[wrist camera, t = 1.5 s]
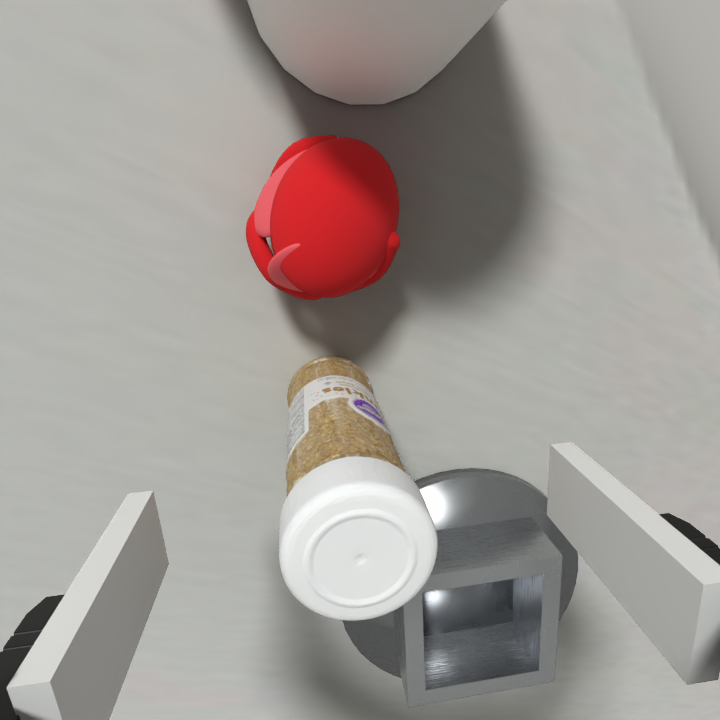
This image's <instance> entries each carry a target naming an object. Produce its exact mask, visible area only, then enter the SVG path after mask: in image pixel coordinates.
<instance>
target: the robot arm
mask: <svg viewBox="0 0 720 720" xmlns="http://www.w3.org/2000/svg"><path fill="white" fill-rule="evenodd" d="M547 515H548V517H549V518H550V519H551V520H552V522H553V523H554V524H555V525H556V526H557V528H558V529H559V530H560V531H561V532H562V534H563V535H564V536H565V537H566V539H567V540H568V541H569V542H570V543H571V545H572V546H573V547H574V548H575V549H576V551H577V552H578V553H579V554H580V556H581V557H582V558H583V559H584V560H585V562H586V563H587V564H588V565H589V566H590V568H591V569H592V570H593V571H594V573H595V574H596V575H597V576H598V577H599V579H600V580H601V581H602V582H603V583H604V585H605V586H606V587H607V588H608V590H609V591H610V592H611V593H612V594H613V596H614V597H615V598H616V599H617V600H618V602H619V603H620V604H621V605H622V607H623V608H624V609H625V610H626V611H627V613H628V614H629V615H630V616H631V617H632V619H633V620H634V621H635V622H636V624H637V625H638V626H639V627H640V628H641V630H642V631H643V632H644V633H645V634H646V636H647V637H648V638H649V639H650V641H651V642H652V643H653V644H654V645H655V647H656V648H657V649H658V650H659V651H660V653H661V654H662V655H663V656H664V658H665V659H666V660H667V661H668V662H669V664H670V665H671V666H672V667H673V668H674V670H675V671H676V672H677V673H678V675H679V676H680V677H681V678H682V679H683V681H684V682H685V683H686V684H687V685H689V684H695V683H701V682H707V681H713V680H718V678H719V673H720V549H719V548H718V546H717V545H716V544H715V543H714V542H712V541H711V540H710V539H709V538H706V537H705V535H704V534H702V533H701V532H700V531H698V530H697V529H696V528H695V527H693V526H692V525H691V524H690V523H688V522H686V521H684V520H682V519H680V518H677V517H675V516H673V515H671V514H669V513H667V514H658V513H656V512H655V511H654V510H653V509H652V508H650V507H649V506H648V505H647V504H646V503H644V502H643V501H642V500H641V499H640V498H638V497H637V496H636V495H635V494H634V493H632V492H631V491H630V490H629V489H628V488H626V487H625V486H624V485H623V484H622V483H620V482H619V481H618V480H617V479H616V478H614V477H613V476H612V475H611V474H610V473H608V472H607V471H606V470H605V469H604V468H602V467H601V466H600V465H599V464H598V463H596V462H595V461H594V460H593V459H592V458H590V457H589V456H588V455H587V454H586V453H584V452H583V451H582V450H581V449H580V448H578V447H577V446H576V445H575V444H574V443H572V442H568V443H560V444H551V445H550V462H549V482H548V501H547ZM168 564H169V562H168V558H167V553H166V548H165V544H164V539H163V534H162V529H161V525H160V520H159V515H158V511H157V506H156V501H155V497H154V492H153V491H147V492H138V493H129V494H128V495H127V496H126V498H125V499H124V501H123V503H122V504H121V506H120V507H119V509H118V511H117V512H116V514H115V515H114V517H113V519H112V520H111V522H110V523H109V525H108V527H107V528H106V530H105V531H104V533H103V535H102V536H101V538H100V539H99V541H98V543H97V544H96V546H95V547H94V549H93V550H92V552H91V554H90V555H89V557H88V558H87V560H86V562H85V563H84V565H83V566H82V568H81V570H80V571H79V573H78V574H77V576H76V578H75V579H74V581H73V582H72V584H71V586H70V587H69V589H68V590H67V592H66V594H65V595H58V596H51V597H46V598H45V599H44V600H42V601H41V602H40V603H39V604H38V605H37V606H36V607H34V608H33V609H32V610H31V611H30V612H29V613H27V614H26V616H25V617H24V619H23V620H22V622H21V623H20V625H19V626H18V627H17V629H16V630H15V632H14V636H11V638H10V639H9V640H8V642H7V643H6V645H5V646H4V648H3V652H0V720H109V718H110V716H111V713H112V711H113V708H114V705H115V703H116V700H117V697H118V695H119V692H120V690H121V687H122V684H123V682H124V679H125V677H126V674H127V671H128V669H129V666H130V664H131V661H132V658H133V656H134V653H135V651H136V648H137V645H138V643H139V640H140V637H141V635H142V632H143V630H144V627H145V624H146V622H147V619H148V617H149V614H150V611H151V609H152V606H153V604H154V601H155V598H156V596H157V593H158V590H159V588H160V585H161V583H162V580H163V577H164V575H165V572H166V570H167V567H168Z"/></svg>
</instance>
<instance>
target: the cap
mask: <svg viewBox="0 0 720 720" xmlns="http://www.w3.org/2000/svg"><path fill="white" fill-rule="evenodd" d="M398 217H399V196H398V189H397V185H396V181H395V178H394V175H393V173H392V171H391V169H390V167H389V165H388V163H387V162H386V160H385V159H384V158H383V157H382V155H381V154H380V153H379V152H378V151H377V150H375V149H374V148H373V147H371V146H370V145H368V144H366V143H364V142H362V141H359V140H356V139H352V138H338V137H336V136H314V137H307V138H303V139H301V140H299V141H297V142H295V143H293V144H292V145H291V146H289V147H288V148H287V149H286V151H285V152H284V153H283V154H282V155H281V157H280V158H279V160H278V161H277V163H276V165H275V167H274V169H273V171H272V173H271V176H270V178H269V180H268V181H267V183H266V184H265V186H264V188H263V190H262V192H261V194H260V196H259V198H258V201H257V203H256V207H255V210H254V211H253V212H252V214H251V215H250V217H249V219H248V221H247V225H246V238H247V243H248V247H249V250H250V252H251V255H252V257H253V259H254V262H255V263H256V265H257V267H258V269H259V270H260V272H261V273H262V275H263V276H264V277H265V278H266V280H267V281H268V282H269V283H271V284H272V285H273V286H275V287H276V288H278V289H280V290H282V291H284V292H286V293H288V294H290V295H292V296H295V297H298V298H301V299H306V300H317V299H321V298H331V297H337V296H342V295H344V294H347V293H350V292H353V291H356V290H358V289H361V288H364V287H366V286H369V285H371V284H373V283H375V282H376V281H378V280H379V279H380V278H381V277H382V276H383V275H384V274H385V273H386V271H387V270H388V268H389V267H390V265H391V263H392V261H393V259H394V257H395V254H396V252H397V250H398V248H399V246H400V237H399V235H398V234H397V233H396V229H397V224H398ZM266 237H271V243H272V248H273V252H274V255H275V256H274V255H273V253H272V252H271V250H270V247H269V245H268V243H267V240H266Z"/></svg>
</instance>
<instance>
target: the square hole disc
mask: <svg viewBox="0 0 720 720" xmlns="http://www.w3.org/2000/svg"><path fill="white" fill-rule="evenodd" d="M414 482H415V483H416V485H417V486H418V488H419V490H420V492H421V494H422V496H423V498H424V500H425V502H426V505H427V507H428V510H429V512H430V515H431V517H432V520H433V522H434V525H435V529H436V533H437V556H436V561H435V564H434V567H433V570H432V572H431V574H430V576H429V578H428V580H427V581H426V583H425V584H424V586H423V587H422V588H421V589H420V591H419V592H418V593H417V594H416V595H415V596H414V597H413V598H412V599H411V600H409V601H408V602H407V603H405V604H404V605H402V606H401V607H399V608H398V609H396V610H394V611H392V612H390V613H387V614H385V615H382V616H379V617H376V618H372V619H366V620H358V621H347V620H343V623H344V626H345V629H346V631H347V633H348V635H349V637H350V639H351V640H352V642H353V644H354V645H355V646H356V647H357V649H358V650H359V651H360V653H361V654H362V655H364V656H365V657H366V658H367V659H368V660H369V661H370V662H371V663H373V664H374V665H376V666H377V667H379V668H380V669H382V670H384V671H386V672H388V673H390V674H392V675H394V676H397V677H400V678H402V682H403V686H404V690H405V694H406V699H407V703H408V707H413V706H419V705H424V704H430V703H435V702H441V701H447V700H452V699H458V698H463V697H469V696H475V695H480V694H486V693H491V692H497V691H502V690H508V689H514V688H519V687H525V686H530V685H536V684H541V683H547V682H553V681H555V668H556V652H557V636H558V621H559V620H560V618H561V617H562V615H563V613H564V612H565V610H566V608H567V606H568V604H569V601H570V599H571V597H572V594H573V591H574V587H575V584H576V578H577V572H578V554H577V551H576V549H575V548H574V547H573V546H572V545H571V543H570V542H569V541H568V540H567V539H566V537H565V536H564V535H563V534H562V532H561V531H560V530H559V529H558V528H557V526H556V525H555V524H554V523H553V522H552V520H551V519H550V518H549V517H548V515H547V501H548V498H547V497H546V496H545V495H544V494H543V493H542V492H541V491H540V490H538V489H537V488H535V487H534V486H533V485H531V484H530V483H528V482H526V481H524V480H522V479H520V478H518V477H516V476H513V475H510V474H507V473H504V472H500V471H494V470H489V469H474V468H470V469H455V470H450V471H445V472H439V473H436V474H433V475H430V476H427V477H423V478H421V479H419V480H417V481H414Z"/></svg>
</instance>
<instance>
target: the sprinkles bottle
mask: <svg viewBox="0 0 720 720" xmlns="http://www.w3.org/2000/svg"><path fill="white" fill-rule="evenodd" d="M287 400H288V406H289V412H288V426H287V458H286V480H287V498H286V500H285V503H284V505H283V508H282V512H281V517H280V528H279V561H280V568H281V572H282V575H283V578H284V581H285V583H286V585H287V586H288V588H289V590H290V591H291V593H292V594H293V595H294V596H295V597H296V599H297V600H298V601H299V602H301V603H302V604H303V605H304V606H306V607H307V608H309V609H310V610H312V611H314V612H316V613H318V614H320V615H322V616H325V617H329V618H333V619H338V620H347V621H358V620H366V619H372V618H376V617H379V616H382V615H385V614H387V613H390V612H392V611H394V610H396V609H398V608H399V607H401V606H402V605H404V604H405V603H407V602H408V601H409V600H411V599H412V598H413V597H414V596H415V595H416V594H417V593H418V592H419V591H420V589H421V588H422V587H423V586H424V584H425V583H426V581H427V580H428V578H429V576H430V574H431V572H432V570H433V567H434V564H435V561H436V556H437V533H436V529H435V525H434V522H433V520H432V517H431V515H430V512H429V510H428V507H427V505H426V502H425V500H424V498H423V496H422V494H421V492H420V490H419V488H418V486H417V485H416V483H415V482H414V481H413V480H412V479H411V478H410V476H409V475H407V474H406V472H405V470H404V469H403V466H402V464H401V461H400V458H399V456H398V454H397V452H396V450H395V447H394V445H393V442H392V439H391V435H390V432H389V429H388V427H387V425H386V422H385V420H384V417H383V415H382V412H381V410H380V408H379V405H378V403H377V401H376V399H375V397H374V396H373V394H372V388H371V384H370V382H369V380H368V377H367V376H366V375H365V373H364V372H363V371H362V369H361V368H360V367H359V366H358V365H356V364H355V363H353V362H352V361H351V360H347V359H344V358H342V357H331V356H328V357H320V358H317V359H314V360H312V361H310V362H308V363H307V364H305V365H304V366H302V367H301V368H300V369H299V370H298V371H297V373H296V374H295V375H294V376H293V378H292V380H291V383H290V386H289V388H288V396H287Z"/></svg>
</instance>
